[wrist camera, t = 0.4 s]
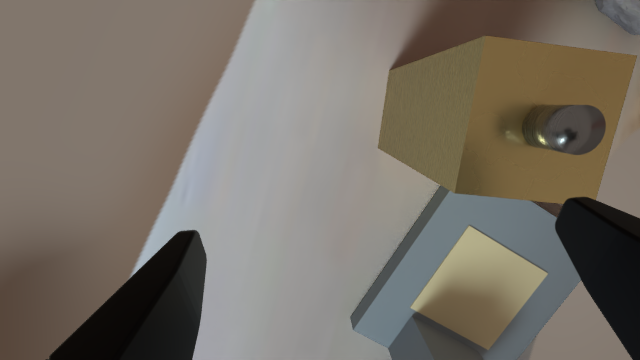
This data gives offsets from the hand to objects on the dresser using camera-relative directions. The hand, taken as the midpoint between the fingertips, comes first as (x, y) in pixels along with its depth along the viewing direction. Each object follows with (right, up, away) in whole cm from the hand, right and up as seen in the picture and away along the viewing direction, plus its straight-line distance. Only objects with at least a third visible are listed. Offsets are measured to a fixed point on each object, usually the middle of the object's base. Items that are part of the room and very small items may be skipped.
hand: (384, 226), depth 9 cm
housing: (+5, +5, +14) cm, 16 cm away
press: (+9, -6, +17) cm, 21 cm away
